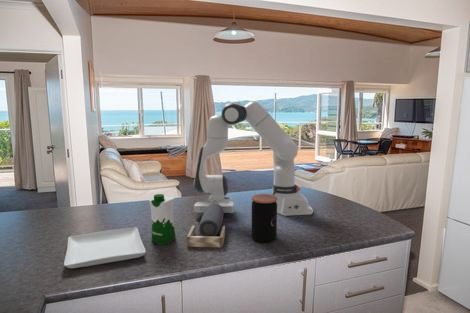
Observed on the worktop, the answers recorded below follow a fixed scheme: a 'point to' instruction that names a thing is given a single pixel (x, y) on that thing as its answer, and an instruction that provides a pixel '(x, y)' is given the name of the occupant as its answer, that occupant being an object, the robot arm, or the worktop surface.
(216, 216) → the bluetooth speaker
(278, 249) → the worktop surface
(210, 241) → the birch bay
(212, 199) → the robot arm
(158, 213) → the milk carton
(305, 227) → the worktop surface
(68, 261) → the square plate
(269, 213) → the coffee jar
